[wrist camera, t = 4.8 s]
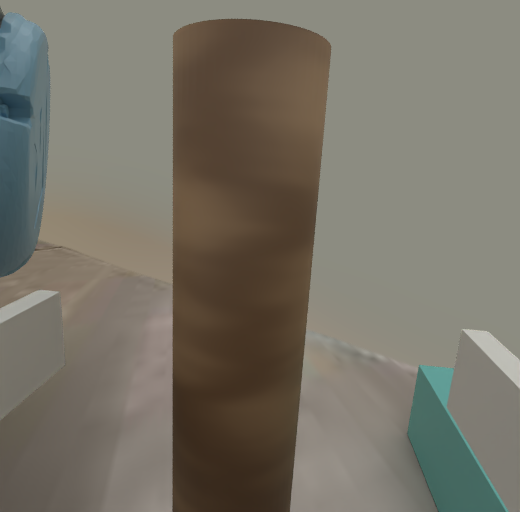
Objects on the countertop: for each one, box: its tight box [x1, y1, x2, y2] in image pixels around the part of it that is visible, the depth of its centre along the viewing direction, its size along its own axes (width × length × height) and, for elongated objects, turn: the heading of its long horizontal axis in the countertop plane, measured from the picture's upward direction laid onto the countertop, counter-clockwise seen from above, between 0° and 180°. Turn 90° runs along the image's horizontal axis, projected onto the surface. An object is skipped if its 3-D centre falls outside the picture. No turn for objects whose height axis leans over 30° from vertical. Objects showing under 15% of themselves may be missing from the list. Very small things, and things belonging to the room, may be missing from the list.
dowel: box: [173, 19, 331, 512], centre depth 13 cm, size 4×4×20 cm
